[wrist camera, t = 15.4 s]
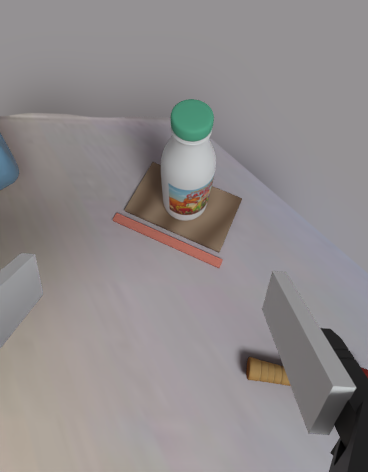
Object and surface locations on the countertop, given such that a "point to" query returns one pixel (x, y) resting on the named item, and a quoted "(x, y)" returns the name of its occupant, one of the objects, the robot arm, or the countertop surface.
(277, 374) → the kendama
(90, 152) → the countertop surface
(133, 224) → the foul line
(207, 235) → the board
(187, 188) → the milk bottle
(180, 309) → the countertop surface
